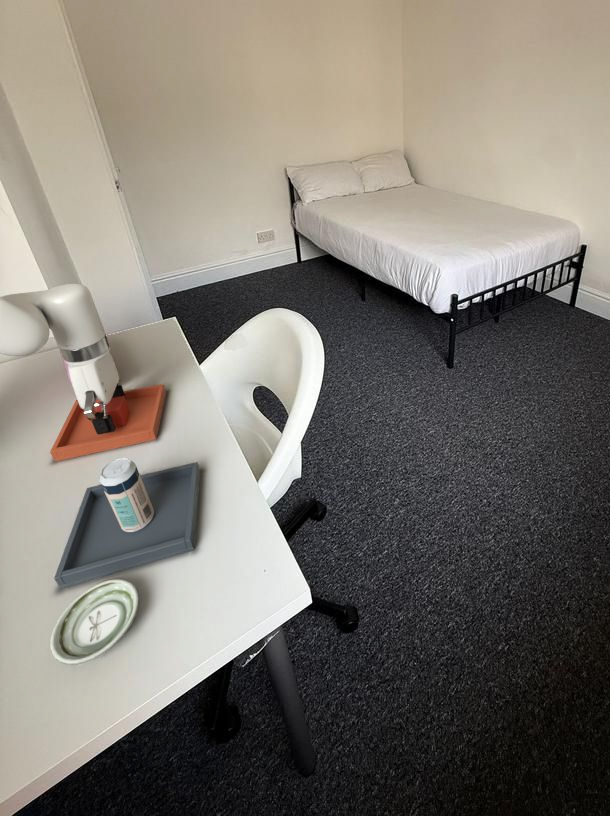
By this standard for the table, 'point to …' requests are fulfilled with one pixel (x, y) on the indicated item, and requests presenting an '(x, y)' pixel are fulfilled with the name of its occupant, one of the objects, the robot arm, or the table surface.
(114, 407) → the red block
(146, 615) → the table surface
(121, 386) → the robot arm
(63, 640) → the saucer
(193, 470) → the grey tray
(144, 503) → the beer can
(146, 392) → the terracotta tray
